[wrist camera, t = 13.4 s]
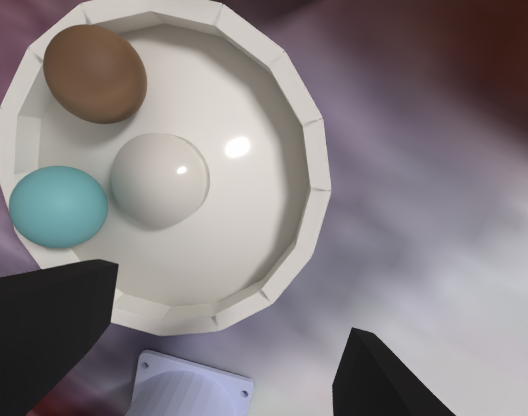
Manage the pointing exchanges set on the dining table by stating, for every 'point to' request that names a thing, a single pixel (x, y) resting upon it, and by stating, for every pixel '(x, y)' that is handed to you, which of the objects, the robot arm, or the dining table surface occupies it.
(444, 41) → the dining table surface
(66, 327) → the robot arm
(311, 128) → the tray
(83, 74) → the walnut bead
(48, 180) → the teal bead
